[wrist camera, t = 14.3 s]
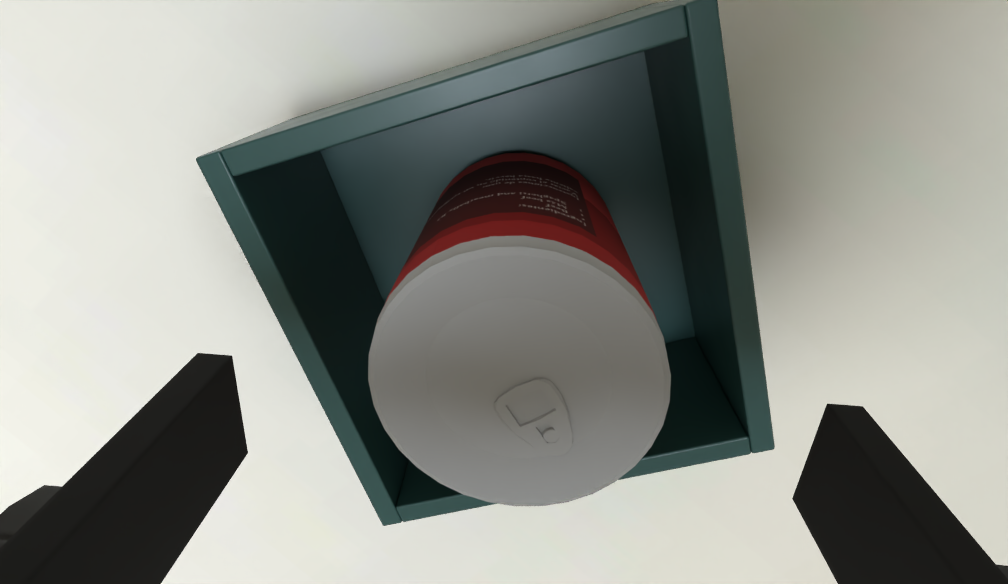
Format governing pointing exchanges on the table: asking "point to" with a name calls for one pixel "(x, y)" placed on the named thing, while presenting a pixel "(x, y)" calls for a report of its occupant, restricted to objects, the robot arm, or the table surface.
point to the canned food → (520, 340)
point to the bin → (494, 131)
